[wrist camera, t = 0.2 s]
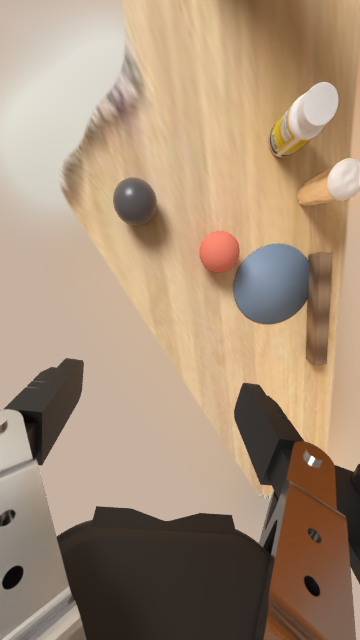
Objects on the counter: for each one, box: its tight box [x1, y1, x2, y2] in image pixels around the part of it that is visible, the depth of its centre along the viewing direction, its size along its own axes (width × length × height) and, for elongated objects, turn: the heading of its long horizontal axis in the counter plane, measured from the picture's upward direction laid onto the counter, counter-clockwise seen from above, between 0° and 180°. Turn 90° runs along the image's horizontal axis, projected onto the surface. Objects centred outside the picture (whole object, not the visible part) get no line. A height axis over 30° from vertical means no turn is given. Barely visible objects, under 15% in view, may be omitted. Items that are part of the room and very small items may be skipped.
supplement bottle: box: [269, 82, 338, 158], centre depth 29 cm, size 5×5×8 cm
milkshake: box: [297, 158, 360, 206], centre depth 30 cm, size 4×5×10 cm
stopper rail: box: [306, 253, 333, 366], centre depth 40 cm, size 20×2×3 cm, turn 9°
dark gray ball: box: [113, 178, 157, 226], centre depth 31 cm, size 6×6×6 cm
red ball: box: [200, 231, 239, 272], centre depth 34 cm, size 6×6×6 cm
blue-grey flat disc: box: [234, 244, 309, 324], centre depth 39 cm, size 14×14×1 cm
